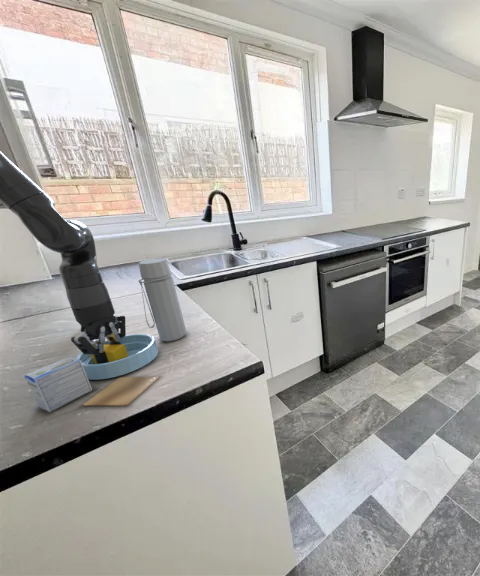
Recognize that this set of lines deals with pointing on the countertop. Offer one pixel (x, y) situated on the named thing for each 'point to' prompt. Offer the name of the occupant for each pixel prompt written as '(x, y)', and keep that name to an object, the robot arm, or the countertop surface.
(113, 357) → the sponge
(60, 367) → the medicine box
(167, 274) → the water bottle
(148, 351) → the basin
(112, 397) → the mat
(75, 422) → the countertop surface
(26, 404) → the countertop surface
